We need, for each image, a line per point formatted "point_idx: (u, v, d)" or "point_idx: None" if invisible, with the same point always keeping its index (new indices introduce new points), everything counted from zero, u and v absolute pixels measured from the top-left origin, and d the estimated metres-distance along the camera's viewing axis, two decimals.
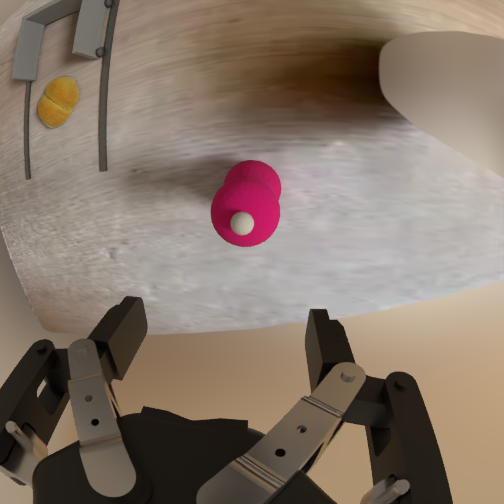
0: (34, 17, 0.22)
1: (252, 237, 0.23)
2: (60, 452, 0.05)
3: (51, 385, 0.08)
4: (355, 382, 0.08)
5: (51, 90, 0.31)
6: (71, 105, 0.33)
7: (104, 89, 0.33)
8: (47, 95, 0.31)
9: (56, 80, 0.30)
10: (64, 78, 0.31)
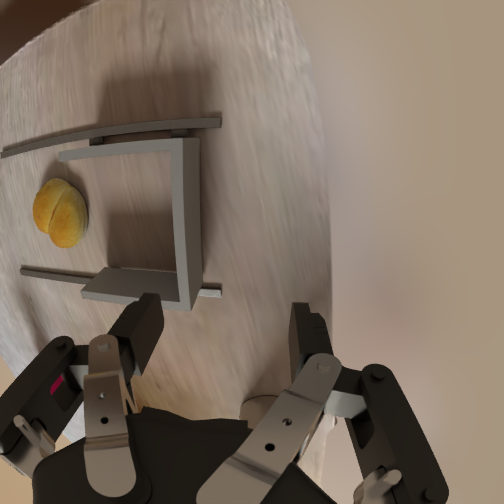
0: None
1: None
2: (60, 452, 0.05)
3: (68, 382, 0.09)
4: (330, 372, 0.08)
5: (59, 222, 0.28)
6: None
7: (76, 280, 0.34)
8: (56, 209, 0.27)
9: (71, 224, 0.28)
10: (76, 235, 0.29)
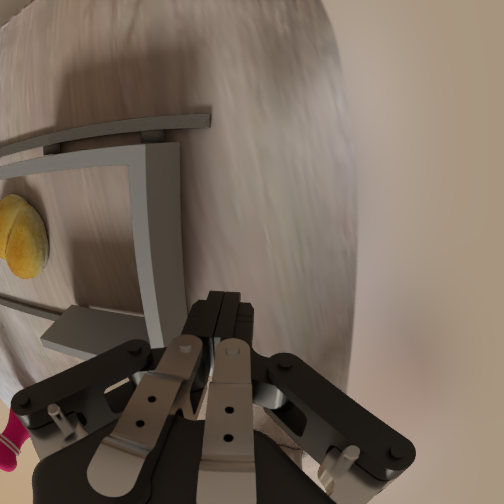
0: None
1: None
2: (60, 452, 0.05)
3: (133, 386, 0.09)
4: (236, 356, 0.09)
5: (13, 250, 0.20)
6: None
7: (44, 315, 0.26)
8: (10, 233, 0.20)
9: (27, 253, 0.20)
10: (34, 265, 0.21)
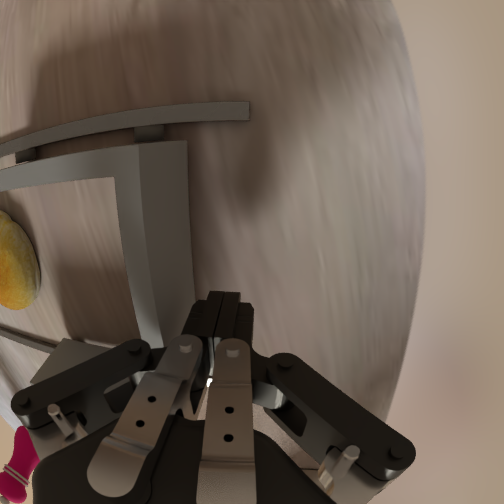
0: None
1: None
2: (60, 452, 0.05)
3: (133, 386, 0.09)
4: (236, 357, 0.09)
5: None
6: None
7: (42, 348, 0.21)
8: None
9: (14, 283, 0.16)
10: (24, 296, 0.17)
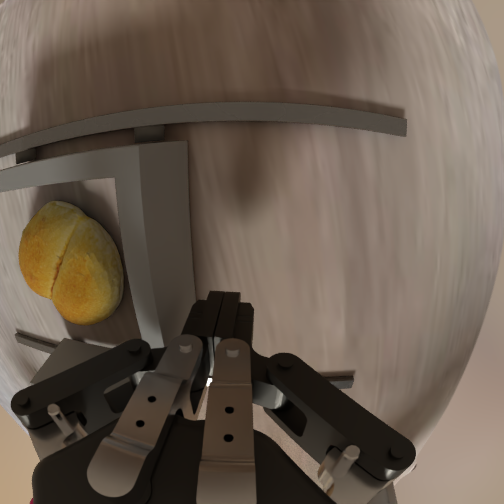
0: None
1: None
2: (60, 452, 0.05)
3: (133, 386, 0.09)
4: (236, 356, 0.09)
5: (70, 289, 0.15)
6: None
7: None
8: (62, 264, 0.15)
9: (96, 294, 0.15)
10: (105, 309, 0.16)
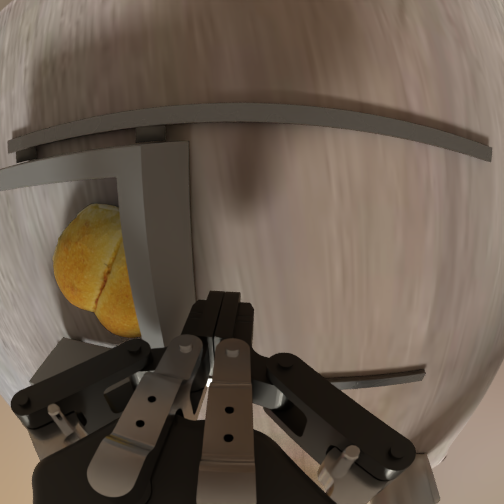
0: None
1: None
2: (60, 452, 0.05)
3: (133, 386, 0.09)
4: (236, 356, 0.09)
5: (122, 299, 0.15)
6: None
7: None
8: (111, 272, 0.14)
9: None
10: None
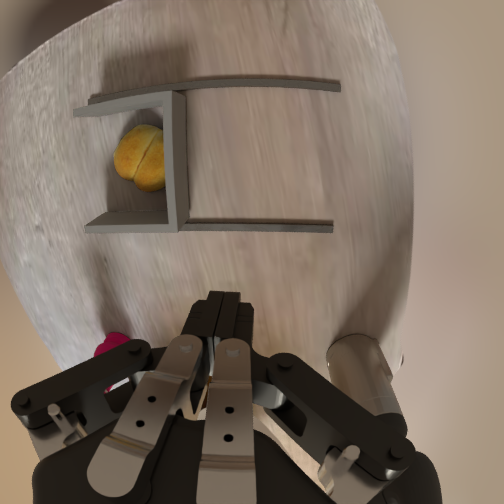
0: None
1: None
2: (60, 452, 0.05)
3: (133, 386, 0.09)
4: (236, 356, 0.09)
5: (152, 161, 0.32)
6: (137, 186, 0.35)
7: None
8: (148, 150, 0.32)
9: None
10: None
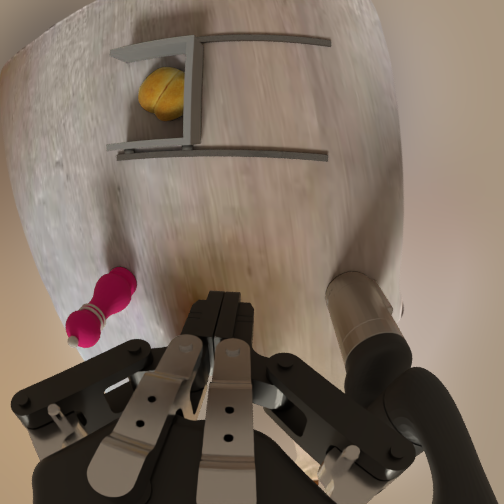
0: None
1: None
2: (60, 452, 0.05)
3: (133, 386, 0.09)
4: (236, 356, 0.09)
5: (172, 92, 0.35)
6: (156, 116, 0.38)
7: (191, 154, 0.41)
8: (169, 84, 0.35)
9: None
10: None
